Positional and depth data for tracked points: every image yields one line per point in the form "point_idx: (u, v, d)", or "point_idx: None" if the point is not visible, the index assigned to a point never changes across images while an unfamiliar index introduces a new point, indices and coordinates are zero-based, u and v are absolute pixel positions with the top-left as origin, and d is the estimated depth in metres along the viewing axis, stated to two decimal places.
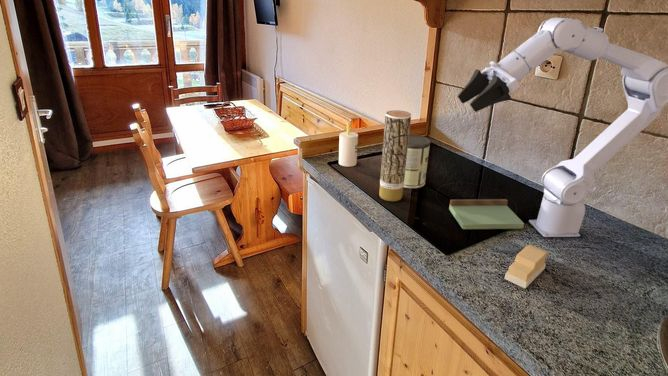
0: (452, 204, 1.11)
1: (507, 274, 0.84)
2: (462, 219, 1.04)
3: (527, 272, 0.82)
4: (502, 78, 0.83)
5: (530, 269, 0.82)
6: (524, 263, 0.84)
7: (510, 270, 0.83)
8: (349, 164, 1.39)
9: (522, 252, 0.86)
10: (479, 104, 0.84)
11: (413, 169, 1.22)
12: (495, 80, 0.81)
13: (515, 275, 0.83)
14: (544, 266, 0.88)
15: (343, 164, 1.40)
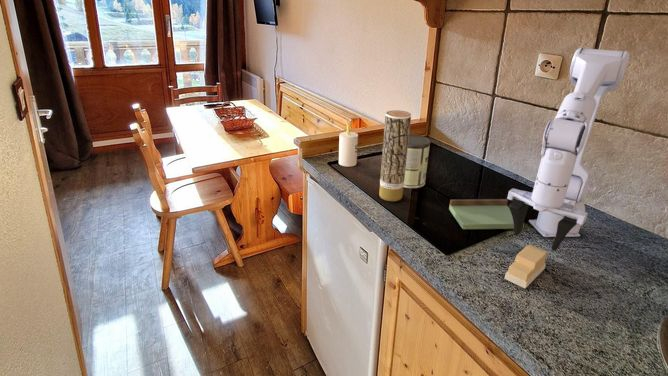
0: (452, 204, 1.11)
1: (507, 274, 0.84)
2: (462, 219, 1.04)
3: (527, 272, 0.82)
4: None
5: (530, 269, 0.82)
6: (524, 263, 0.84)
7: (510, 270, 0.83)
8: (349, 164, 1.39)
9: (522, 252, 0.86)
10: (559, 243, 0.80)
11: (413, 169, 1.22)
12: (568, 229, 0.76)
13: (515, 275, 0.83)
14: (544, 266, 0.88)
15: (343, 164, 1.40)
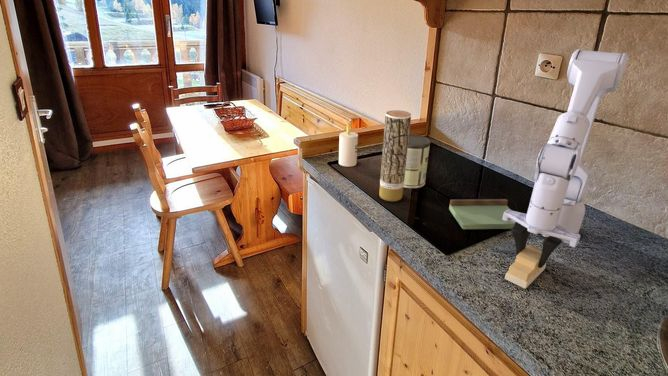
0: (452, 204, 1.11)
1: (507, 274, 0.84)
2: (462, 219, 1.04)
3: (527, 272, 0.81)
4: None
5: (530, 269, 0.82)
6: (524, 263, 0.84)
7: (510, 270, 0.83)
8: (349, 164, 1.39)
9: (522, 252, 0.85)
10: (545, 260, 0.84)
11: (413, 169, 1.22)
12: (552, 248, 0.79)
13: (515, 275, 0.83)
14: (544, 266, 0.87)
15: (343, 164, 1.40)
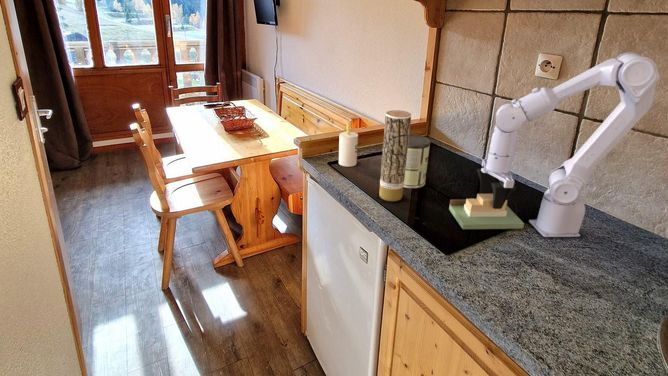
0: (452, 204, 1.11)
1: (464, 205, 1.09)
2: (462, 219, 1.04)
3: (473, 204, 1.05)
4: None
5: (479, 204, 1.05)
6: (479, 200, 1.06)
7: (466, 202, 1.08)
8: (349, 164, 1.39)
9: (485, 194, 1.07)
10: (499, 204, 1.02)
11: (413, 169, 1.22)
12: (495, 189, 0.99)
13: (467, 206, 1.07)
14: (504, 213, 1.06)
15: (343, 164, 1.40)
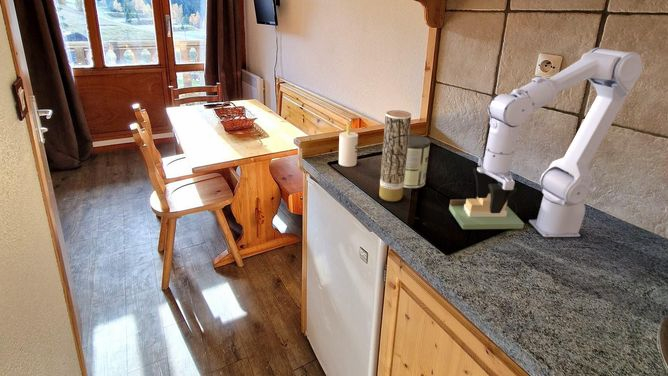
0: (452, 204, 1.11)
1: (464, 205, 1.09)
2: (462, 219, 1.04)
3: (473, 204, 1.05)
4: None
5: (479, 204, 1.05)
6: (479, 200, 1.06)
7: (466, 202, 1.08)
8: (349, 164, 1.39)
9: None
10: (497, 208, 0.90)
11: (413, 169, 1.22)
12: (492, 191, 0.87)
13: (467, 206, 1.07)
14: (504, 213, 1.06)
15: (343, 164, 1.40)
